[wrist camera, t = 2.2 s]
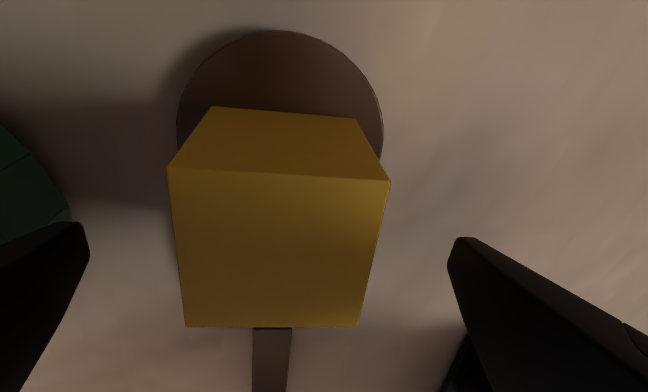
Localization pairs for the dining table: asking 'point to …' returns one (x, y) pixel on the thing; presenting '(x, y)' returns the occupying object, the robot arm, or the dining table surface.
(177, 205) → the block
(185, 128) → the brown oval paddle
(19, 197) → the green pet bowl
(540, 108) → the dining table surface
